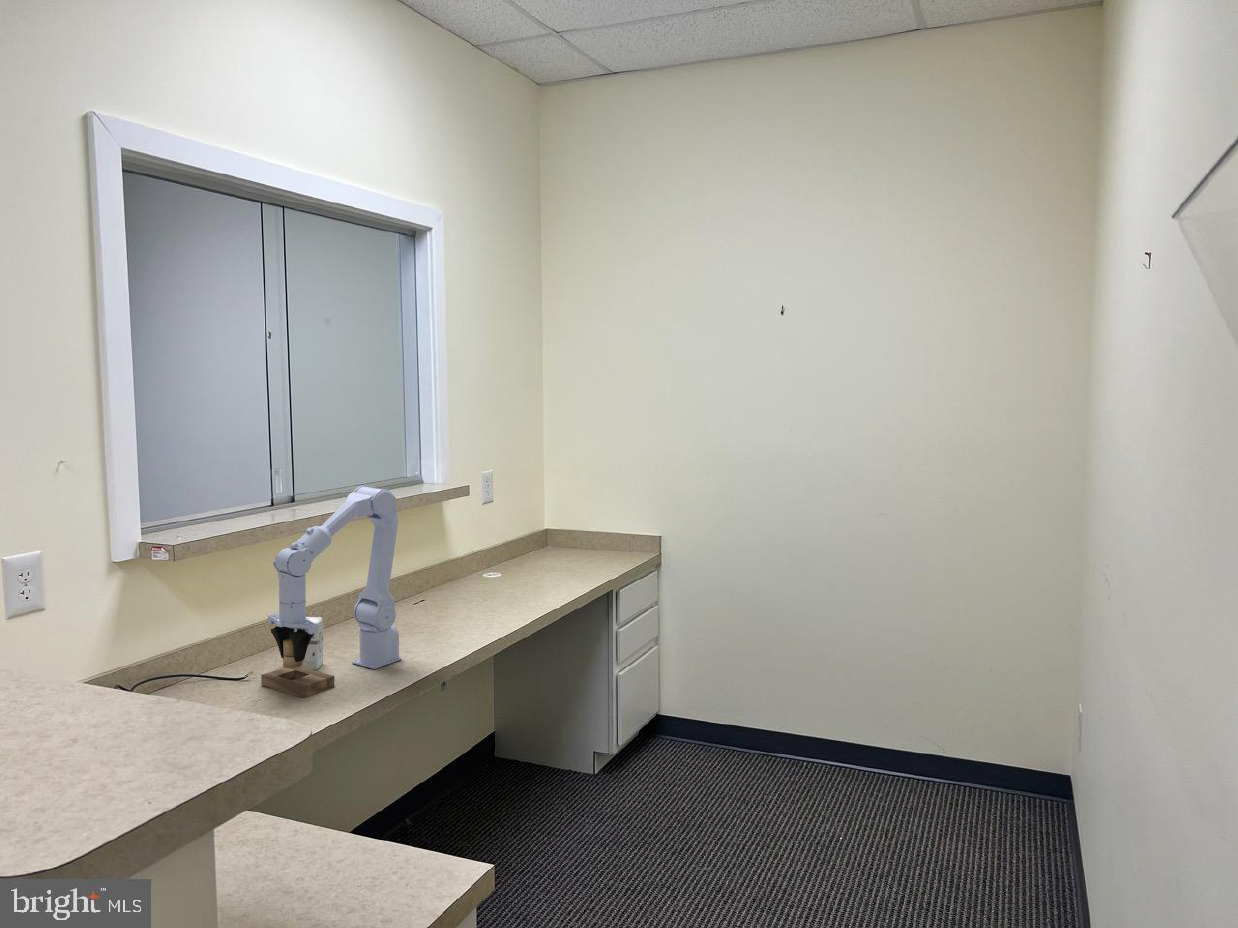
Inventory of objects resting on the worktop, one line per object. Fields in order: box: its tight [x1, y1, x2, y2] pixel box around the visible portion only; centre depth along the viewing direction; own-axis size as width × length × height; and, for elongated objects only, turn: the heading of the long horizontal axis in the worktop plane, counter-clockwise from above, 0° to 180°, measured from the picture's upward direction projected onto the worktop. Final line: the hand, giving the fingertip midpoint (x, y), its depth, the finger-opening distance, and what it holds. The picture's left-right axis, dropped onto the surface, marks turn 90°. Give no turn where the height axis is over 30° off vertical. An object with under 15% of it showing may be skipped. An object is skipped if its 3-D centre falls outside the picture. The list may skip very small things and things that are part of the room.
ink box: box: [282, 616, 324, 671], centre depth 225 cm, size 9×5×12 cm, turn 91°
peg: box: [283, 638, 302, 668], centre depth 211 cm, size 4×4×6 cm
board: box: [260, 667, 336, 698], centre depth 212 cm, size 9×14×2 cm, turn 59°
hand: (292, 659), depth 211 cm, fingers closed on peg, 4 cm apart
